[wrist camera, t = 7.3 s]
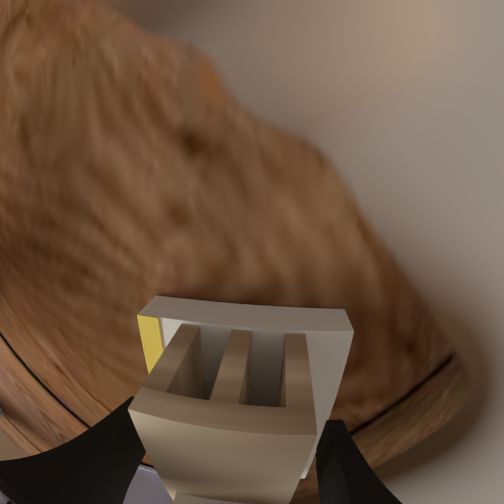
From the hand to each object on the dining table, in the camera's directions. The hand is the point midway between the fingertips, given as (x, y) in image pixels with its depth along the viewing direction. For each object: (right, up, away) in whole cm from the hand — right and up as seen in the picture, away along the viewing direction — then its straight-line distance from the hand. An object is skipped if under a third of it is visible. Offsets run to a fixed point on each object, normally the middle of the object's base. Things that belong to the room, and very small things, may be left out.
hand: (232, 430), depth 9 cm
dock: (0, -2, +5) cm, 5 cm away
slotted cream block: (0, -2, +3) cm, 4 cm away
